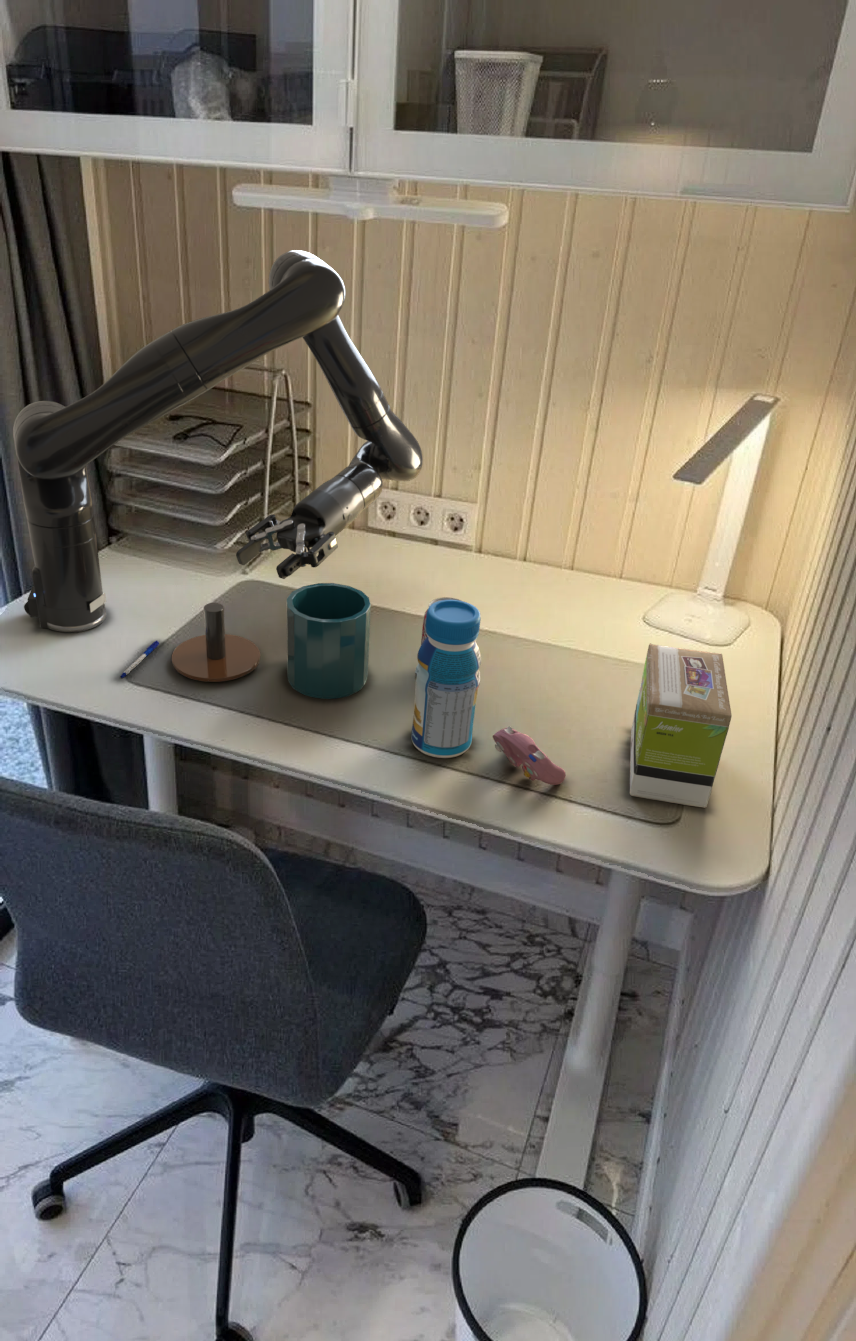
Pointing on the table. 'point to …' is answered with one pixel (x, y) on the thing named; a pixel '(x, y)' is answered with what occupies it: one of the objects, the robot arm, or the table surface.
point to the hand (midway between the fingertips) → (258, 566)
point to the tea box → (679, 725)
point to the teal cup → (328, 640)
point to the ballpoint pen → (140, 658)
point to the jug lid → (215, 651)
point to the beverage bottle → (447, 680)
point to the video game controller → (528, 756)
